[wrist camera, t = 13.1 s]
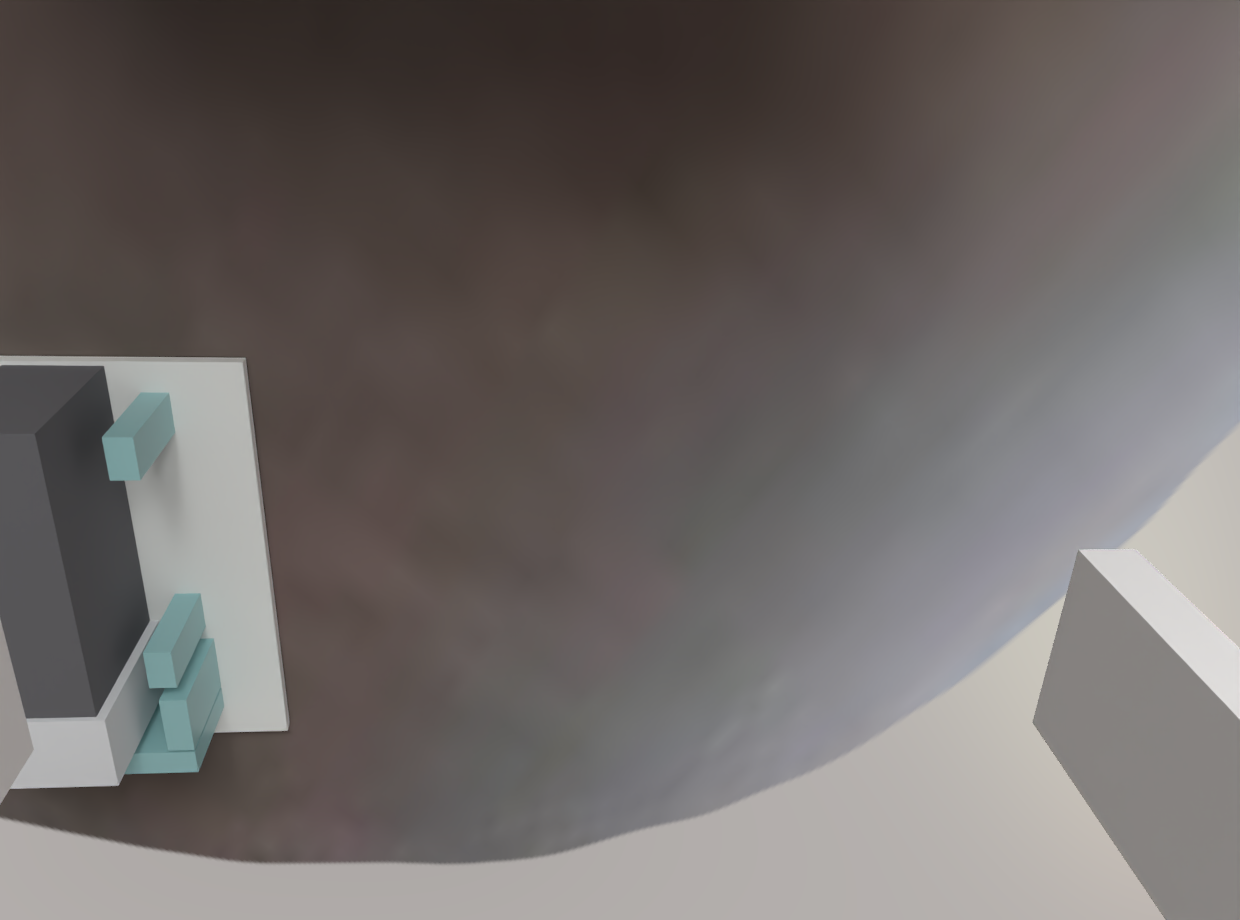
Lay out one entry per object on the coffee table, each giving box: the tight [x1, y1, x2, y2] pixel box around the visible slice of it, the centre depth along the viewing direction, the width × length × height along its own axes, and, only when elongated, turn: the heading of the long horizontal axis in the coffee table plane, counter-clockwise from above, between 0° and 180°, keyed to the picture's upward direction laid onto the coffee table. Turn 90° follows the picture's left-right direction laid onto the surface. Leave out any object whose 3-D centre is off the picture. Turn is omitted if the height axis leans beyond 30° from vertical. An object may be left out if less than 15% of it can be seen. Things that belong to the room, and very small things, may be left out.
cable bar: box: [0, 365, 165, 789], centre depth 38 cm, size 14×4×6 cm, turn 178°
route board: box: [0, 356, 290, 774], centre depth 39 cm, size 17×13×4 cm
